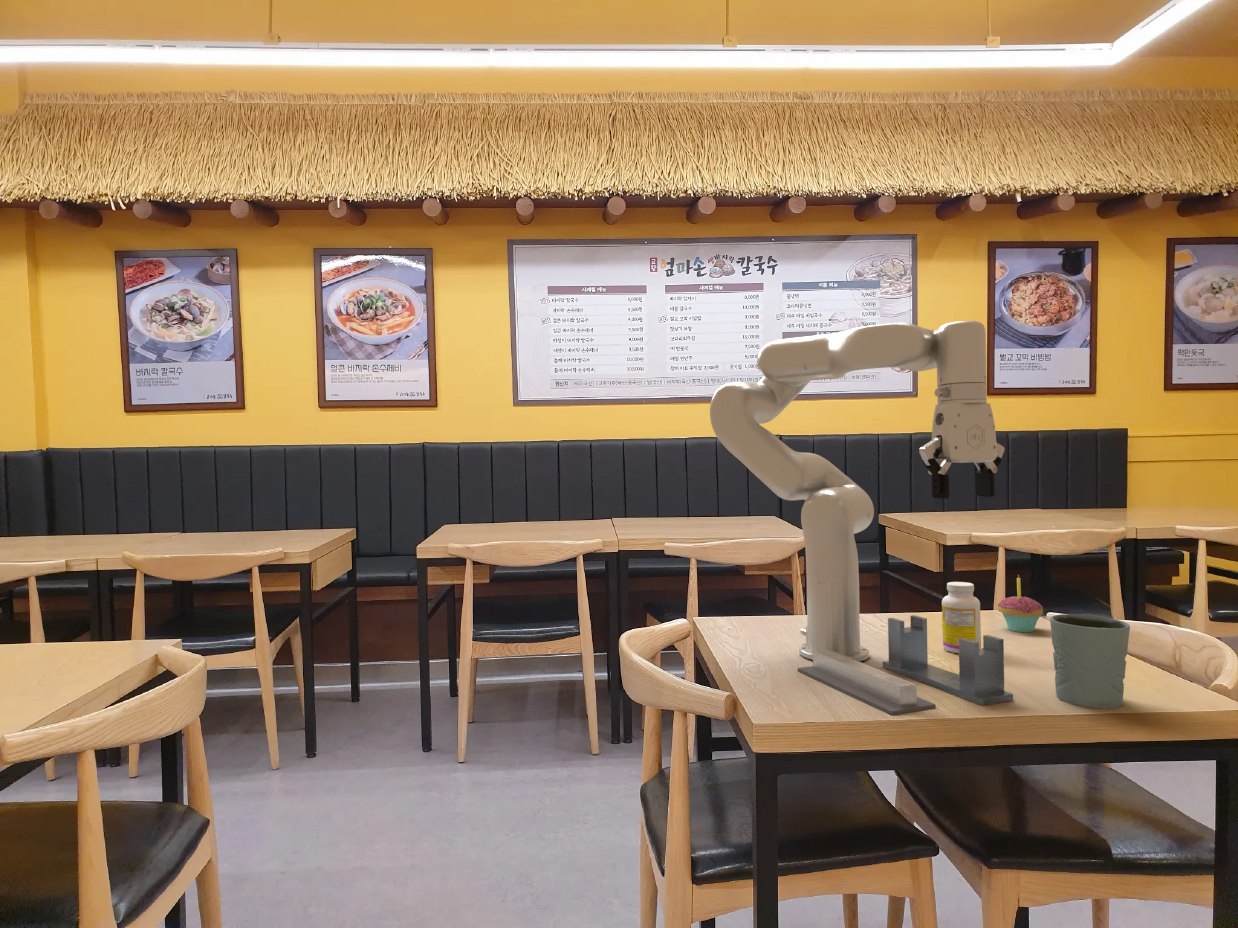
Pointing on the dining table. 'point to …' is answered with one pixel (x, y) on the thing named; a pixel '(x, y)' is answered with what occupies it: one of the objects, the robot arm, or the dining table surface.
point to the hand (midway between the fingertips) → (963, 497)
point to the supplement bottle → (960, 616)
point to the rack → (975, 677)
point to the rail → (866, 678)
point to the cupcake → (1020, 611)
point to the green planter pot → (1089, 659)
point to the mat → (865, 693)
